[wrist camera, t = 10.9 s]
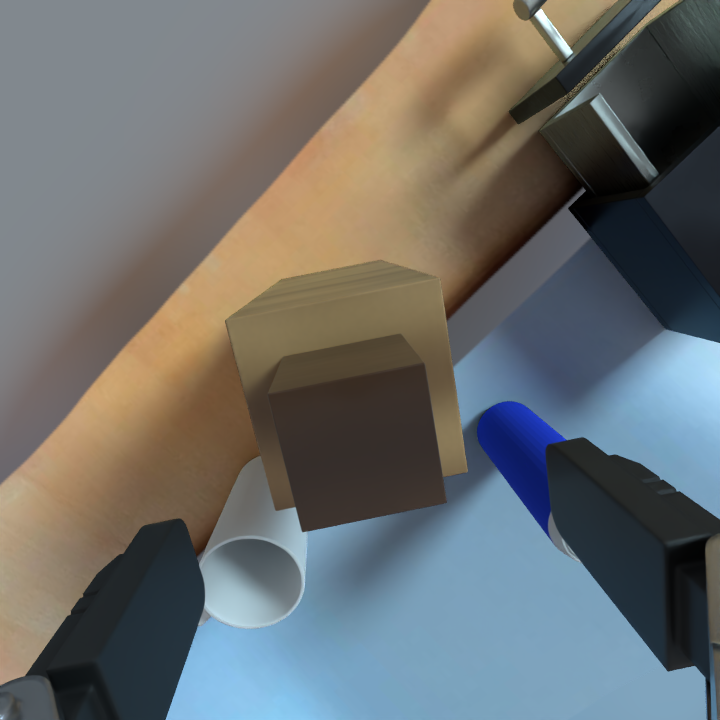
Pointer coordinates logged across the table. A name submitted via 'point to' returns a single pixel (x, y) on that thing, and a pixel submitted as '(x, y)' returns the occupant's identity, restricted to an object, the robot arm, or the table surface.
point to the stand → (338, 327)
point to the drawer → (628, 91)
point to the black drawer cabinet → (668, 238)
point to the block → (357, 432)
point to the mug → (253, 557)
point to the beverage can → (523, 459)
